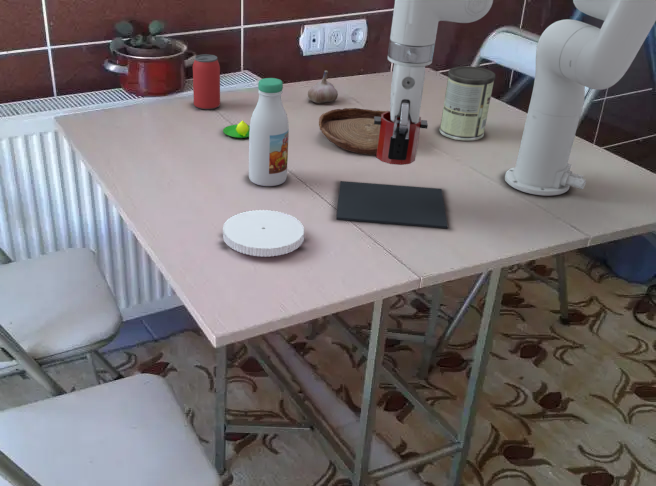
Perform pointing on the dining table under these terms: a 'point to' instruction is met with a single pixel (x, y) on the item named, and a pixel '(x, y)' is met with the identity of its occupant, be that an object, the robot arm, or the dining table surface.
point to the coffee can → (466, 103)
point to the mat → (391, 204)
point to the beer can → (206, 81)
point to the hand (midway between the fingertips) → (396, 150)
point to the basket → (352, 129)
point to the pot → (387, 133)
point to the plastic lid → (263, 233)
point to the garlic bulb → (323, 91)
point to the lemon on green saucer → (238, 130)
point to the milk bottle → (268, 136)
